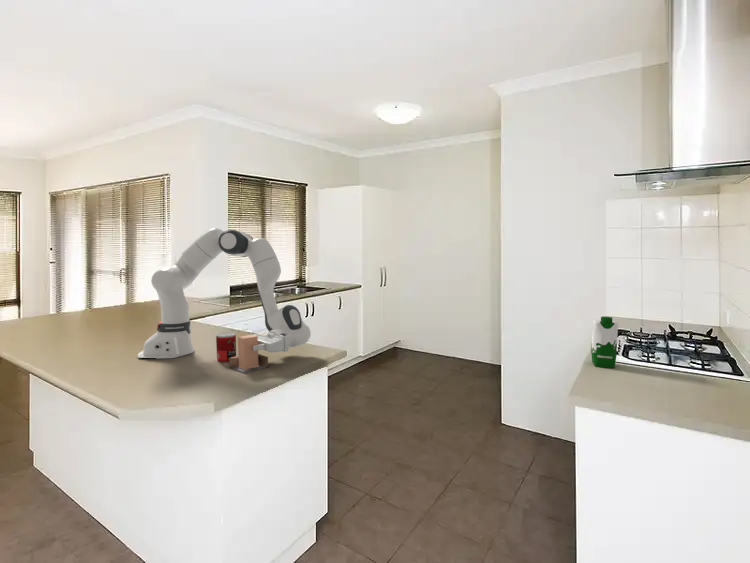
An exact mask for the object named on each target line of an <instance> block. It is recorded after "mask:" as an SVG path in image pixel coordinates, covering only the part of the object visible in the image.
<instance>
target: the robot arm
mask: <svg viewBox="0 0 750 563" xmlns="http://www.w3.org/2000/svg"><path fill="white" fill-rule="evenodd" d="M221 253H225V254H227V255H230V256H233V257H240V258H241V257H242V258H245V257H248V259H249V260H250V263H251V265H252V268H253V270H254V274H255V277H256V287H257V292H258V295H259V299H260V302H261V305H262V309H263V312H264V323H265V327H266V330H268V334H267V333H266V334H263V333H256V334H255V333H254V334H253V335H255V336H258V345H252V350H254V351H255V350H258V351H266V352H268V353H280V352H289V350H290V348H296V347H300V346H302V345H305V344H307V343H308V342H309V340H310V339H311V329H310V327H309V326H308V325H307V324H306V323H305V322H304V320H303V319H302V317H301V315H302V314H301V312H300V310H299V309H298V307H296V306H295V305H292V304H287V305H285V306H283V307H281V308H278V305H277V302H276V297H275V295H274V288H275V286H276V283H277V282H278V280H279V278H280V276H281V273H282V270H281V264H280V261H279V259H278V256H277V254H276V252H275V250H274V248H273V247H272V245H271V243H270V242H269V240H268V239H267V238H263V237H258V238H255V239H254V238H253V237H252V236H251V235H250V234H248V233H246V232H244V231H240V230H239V231H238V230H236V229H227V230H225V231H223V230H222V229H220V228H218V227H212V228H210V229H209V230H207V231H206V232H203V233H202V234H201V235H200V236H199V237H198V238H196V239H195V240H194V241H193V242H192V243H191V244H190V245H189V246H188V247H187V248H186V249H185V250H184V251H183V252H182V254H181V256H180V257H179V258H178V260H177V262H176V263H174V264H173V265H171V266H165V267H162V268H160V269H157V271H155V272H154V273H153V274H152V276H151V285H152V287H153V288H154V289H155V291H156V293H157V296H158V300H159V304H160V312H161V313H160V314H161V315H160V316H161V321H160V322H158V323H157V324H156V329H157V331H156V332H155V333H153V334H152V335H151V336H150V337H149V338H148V339H147V340H145V342H144V345H143V349H142V351H140V352H138V353H137V359H139V358H156V359H176V358H179V357H182V356H186V355H190V354H193V353H194V352H195V349H194V346H193V341H192V337H191V334H192V333H191V332H192V325H191V321H190V312H189V311H190V309H189V303H188V301H187V299H186V297H185V293H184V290H185V289H187V288H188V287H189V286H191V284H192V283H193V282H194V281H195V280H196V278H197V277H199V275H200V273H202V271H204V269H205V268H206V267H207V266H209V264H211V263H212V262H213V261H214V259H216V258H217V257H218V256H219V255H220V254H221Z"/></svg>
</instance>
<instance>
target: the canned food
mask: <svg viewBox="0 0 750 563" xmlns="http://www.w3.org/2000/svg"><path fill="white" fill-rule="evenodd" d="M236 337H237V335H236V333H235V332H230V331H229V332H228V331H227V332H220V333H217V334H216V335H215V342H216V345H215V346H216V359H217V361H218V362H219V363H220V362H221V363H228V362H229V363H230V358H231V357H236V356H237V338H236Z"/></svg>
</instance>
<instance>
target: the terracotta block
mask: <svg viewBox="0 0 750 563" xmlns="http://www.w3.org/2000/svg"><path fill="white" fill-rule="evenodd" d="M252 345H258V336H255V335H254V334H246V335H242V336H238V337H237V347H238V348H237V350H238V351H237V352H238V354H237V356H238V357H239V367H240V368H243V369H248V368H252V367H256V366H258V354H259V350H255V351H254V350H252Z"/></svg>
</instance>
